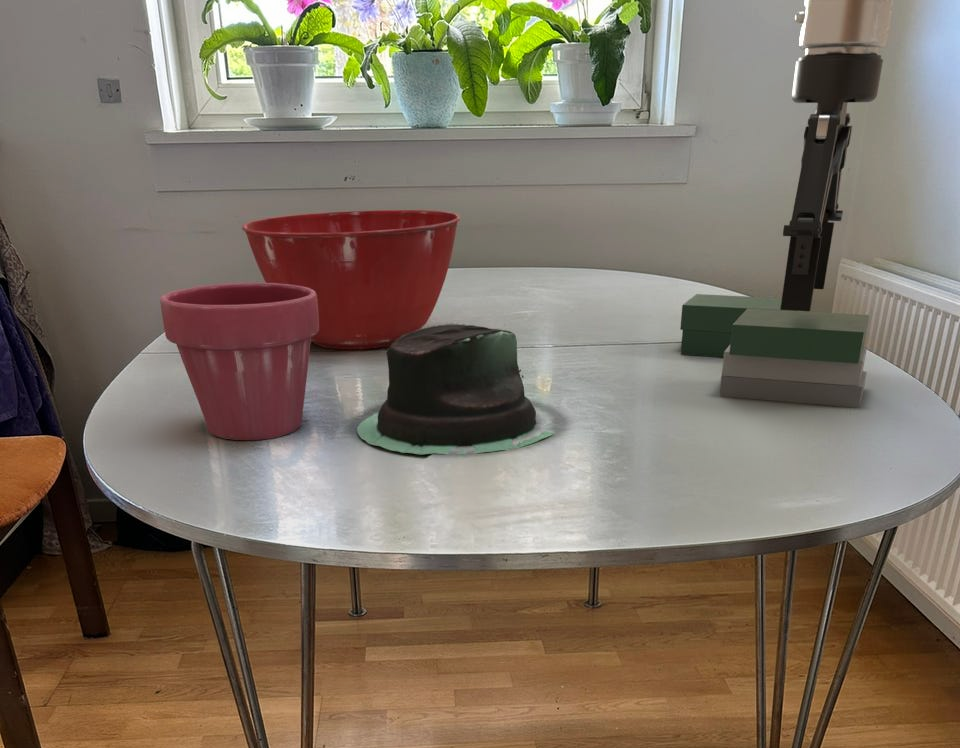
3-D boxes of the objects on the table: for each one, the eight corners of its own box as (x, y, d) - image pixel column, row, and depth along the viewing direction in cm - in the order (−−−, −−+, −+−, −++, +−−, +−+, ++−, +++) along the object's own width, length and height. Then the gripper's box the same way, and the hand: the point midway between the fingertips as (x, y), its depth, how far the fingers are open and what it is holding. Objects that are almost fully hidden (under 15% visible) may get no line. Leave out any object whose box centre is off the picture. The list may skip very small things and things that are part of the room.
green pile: (794, 347, 122) (801, 299, 119) (786, 361, 115) (793, 310, 112) (691, 341, 127) (696, 294, 124) (678, 354, 120) (682, 304, 117)
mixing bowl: (255, 369, 116) (238, 233, 109) (257, 325, 141) (243, 212, 133) (480, 355, 121) (478, 224, 113) (444, 315, 145) (440, 205, 138)
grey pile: (862, 394, 101) (871, 347, 99) (858, 411, 96) (867, 361, 93) (730, 384, 106) (735, 338, 104) (718, 399, 100) (723, 351, 98)
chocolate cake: (432, 381, 105) (597, 407, 97) (350, 504, 98) (522, 544, 89) (390, 264, 93) (575, 282, 85) (293, 393, 86) (486, 427, 77)
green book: (864, 344, 100) (869, 314, 99) (858, 363, 92) (863, 332, 91) (744, 336, 104) (747, 308, 103) (729, 354, 97) (732, 324, 95)
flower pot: (337, 407, 100) (325, 279, 94) (317, 447, 88) (303, 304, 82) (203, 409, 100) (182, 282, 94) (164, 450, 88) (138, 306, 82)
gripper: (811, 59, 97) (781, 278, 107) (779, 47, 77) (745, 317, 87) (889, 57, 94) (850, 282, 105) (877, 44, 74) (831, 323, 85)
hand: (803, 298), depth 96 cm, fingers open, 13 cm apart
